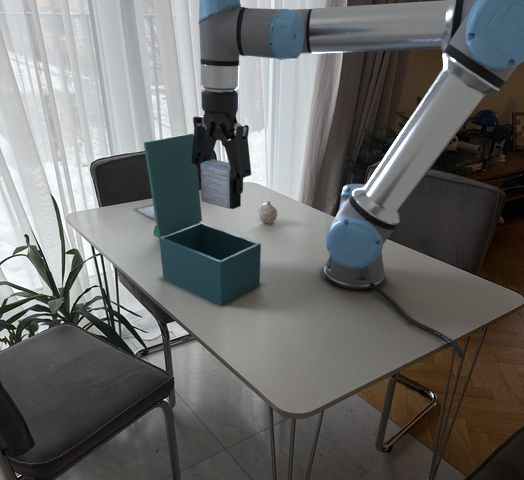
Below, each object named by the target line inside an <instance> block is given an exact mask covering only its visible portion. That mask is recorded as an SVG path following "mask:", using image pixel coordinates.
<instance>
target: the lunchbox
mask: <svg viewBox="0 0 524 480" xmlns="http://www.w3.org/2000/svg"><path fill="white" fill-rule="evenodd" d="M158 239H159V248H160V249H159V250H160V258H161V270H162V278H163V280H164V281H167V282H169V283H170V284H173V285H175V286H177V287H180V288H182V289H183V290H186V291H188V292H189V293H192V294H194V295H197V296H199V297H201V298H203V299H206V300H207V301H210V302H212V303H214V304H216V305H218V306H222V307H223V306H224V305H225V304H227V303H229V302H231V301H232V300H234V299H237V298H239V297H241V296H242V295H244V294H246V293H247V292H249V291H251V290H253V289H254V288H256V287H258V286H260V280H261V254H262V252H261V251H262V244H261V243H260V242H257V241H255V240H252V239H248V238H246V237H243V236H240V235H238V234H234V233H232V232H229V231H226V230H223V229H220V228H218V227H215V226H212V225H209V224H207V223H204V222H200V223H199V224H196V225H193V226H191V227H188V228H185V229H182V230H180V231H177V232H174V233H172V234H169V235H166V236H164V237H161V238H158Z"/></svg>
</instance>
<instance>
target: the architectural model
mask: <svg viewBox="0 0 524 480" xmlns="http://www.w3.org/2000/svg"><path fill="white" fill-rule="evenodd" d="M151 202H152V203H153V200H151ZM136 211H138V212H139V213H141V214H144V215H145V216H147V217H149V218H151V219H153V220H156V219H155V213H154V206H153V205H151V206H150V205H149V206H145V207H142V208H137V209H136Z"/></svg>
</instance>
